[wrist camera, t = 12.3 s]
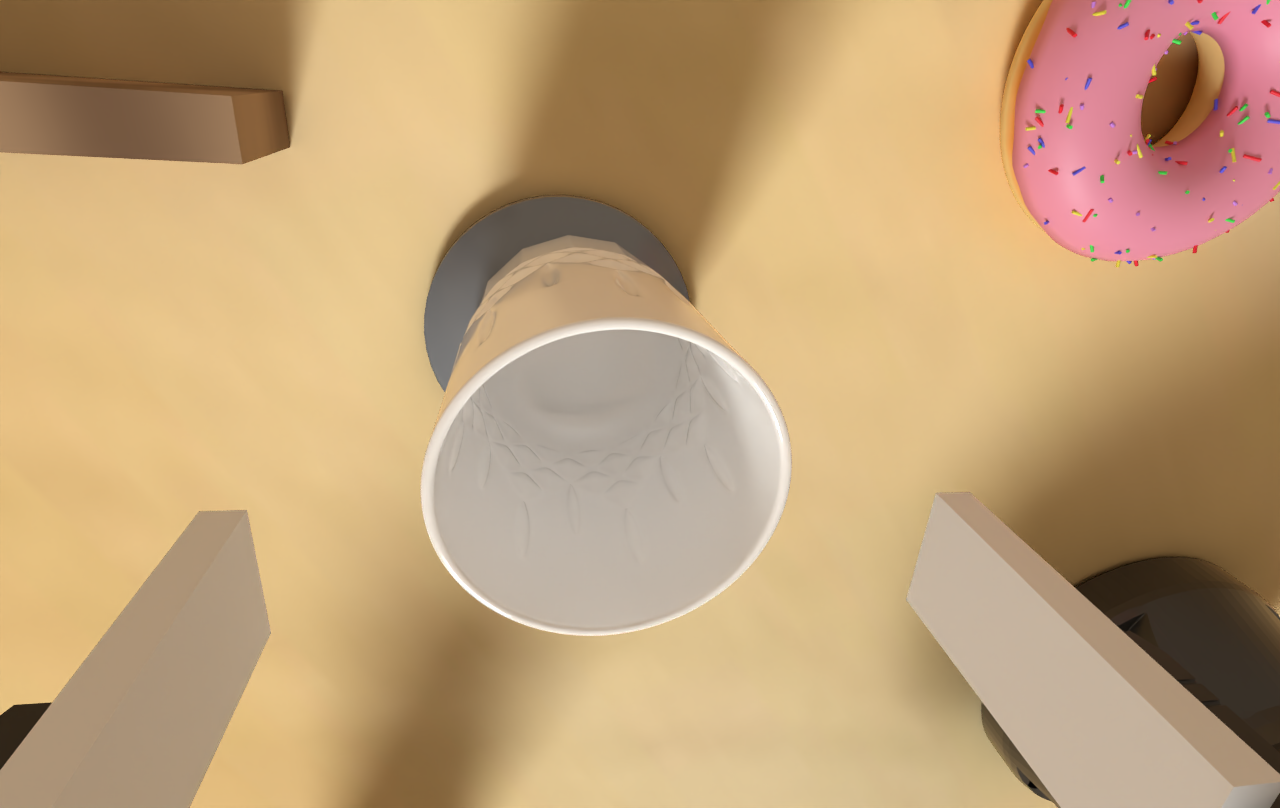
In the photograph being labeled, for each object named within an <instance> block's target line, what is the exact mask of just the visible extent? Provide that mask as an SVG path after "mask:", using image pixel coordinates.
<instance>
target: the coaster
mask: <svg viewBox="0 0 1280 808" xmlns="http://www.w3.org/2000/svg"><path fill="white" fill-rule="evenodd" d="M566 235H573V236H579V237H585V238H592V239H598V240H604V241H611V242H615V243H617V244H618V245H620V246H621V247H622V248H624V249H625V250H627V251H628V252H630V253H631V254H632V255H634V256H635V257H637V258H638V259H639V260H641V261H642V262H644V263H645V264H646V265H648V266H649V267H651V268H652V269H653V270H654V271H656V272H657V273H658V274H659V275H661V276H662V277H663V278H664V279H665V280H666V281H668V282H669V283H670V284H671V285H672V286H673V287H674V288H675V289H676V290H677V291H679V292H680V293H681V294H682V295H683V296H684V297H685V298H686V299H687V300H688V301H689V297H688V292H687V288H686V285H685V283H684V280H683V278H682V275H681V273H680V271H679V269H678V267H677V265H676V264H675V262H674V260H673V258H672V257H671V255H670V254H669V253H668V251H667V250H666V249H665V247H664V246H663V245H662V243H661V242H660V241H659V240H658V239H657V238H656V237H655V236H654V235H653V234H652V233H651V232H650V231H649V230H648V229H647V228H646V227H645V226H644V225H642V224H641V223H640V222H638V221H637V220H636V219H634V218H633V217H632V216H630V215H628V214H626V213H625V212H623V211H621V210H619V209H618V208H615V207H613V206H610V205H608V204H605V203H603V202H600V201H596V200H592V199H588V198H585V197H578V196H569V195H544V196H538V197H532V198H526V199H523V200H519V201H516V202H513V203H509V204H507V205H505V206H503V207H501V208H498V209H496V210H494V211H492V212H490V213H489V214H487V215H486V216H484V217H483V218H481V219H479V220H478V221H476V222H475V223H474V224H473V225H472V226H471V227H469V228H468V229H467V230H466V231H465V232H464V233H462V235H461V236H460V237H459V238H458V239H457V240H456V241H455V243H454V244H453V245H452V246H451V247H450V249H449V250H448V252H447V253H446V255H445V256H444V258H443V259H442V261H441V263H440V265H439V267H438V269H437V272H436V274H435V276H434V278H433V281H432V284H431V287H430V290H429V294H428V297H427V302H426V308H425V315H424V335H425V342H426V349H427V353H428V357H429V360H430V364H431V367H432V369H433V371H434V374H435V376H436V378H437V380H438V382H439V384H440V385H441V387H442V389H443V390H444V392H445V391H446V388H447V384H448V381H449V378H450V375H451V372H452V369H453V366H454V363H455V359H456V356H457V353H458V350H459V347H460V343H461V341H462V339H463V337H464V335H465V333H466V330H467V327H468V324H469V322H470V320H471V318H472V316H473V314H474V313H475V311H476V310H477V308H478V307H479V304H480V302H481V299H482V296H483V293H484V290H485V288H486V285H487V282H488V280H489V279H490V278H491V277H493V276H494V275H495V274H496V273H497V272H498V271H499V270H500V269H501V268H502V267H503V266H504V265H505V264H506V263H508V262H509V261H510V260H511V259H512V258H513V257H514V256H515V255H516V254H517V253H518V252H519V251H520V250H521V249H523V248H526V247H529V246H533V245H536V244H539V243H543V242H546V241H549V240H553V239H556V238H559V237H562V236H566ZM689 302H690V301H689Z"/></svg>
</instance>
